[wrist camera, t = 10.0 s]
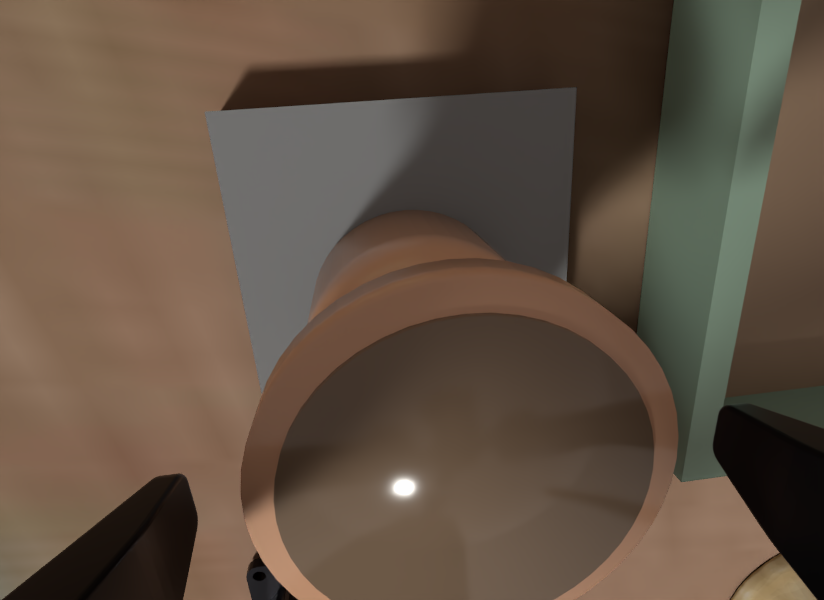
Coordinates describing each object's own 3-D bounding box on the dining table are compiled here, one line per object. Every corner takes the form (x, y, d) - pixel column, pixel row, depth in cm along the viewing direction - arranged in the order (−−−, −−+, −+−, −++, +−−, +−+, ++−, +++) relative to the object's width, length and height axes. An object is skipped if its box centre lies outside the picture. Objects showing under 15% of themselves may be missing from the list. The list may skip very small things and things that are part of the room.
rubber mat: (543, 421, 19) (557, 445, 18) (284, 453, 18) (279, 481, 17) (555, 89, 15) (576, 86, 13) (219, 112, 14) (204, 111, 13)
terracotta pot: (518, 390, 17) (657, 615, 9) (313, 415, 16) (279, 678, 9) (522, 182, 14) (716, 257, 7) (278, 203, 14) (188, 310, 6)
